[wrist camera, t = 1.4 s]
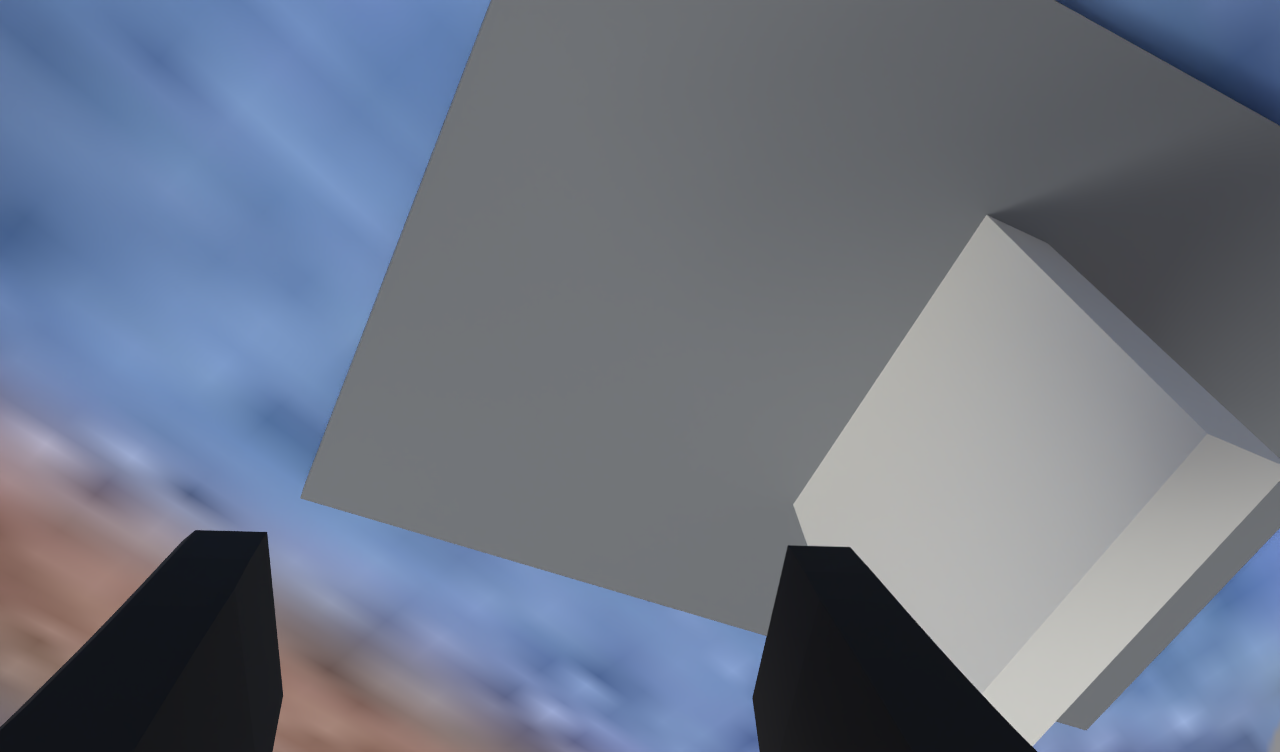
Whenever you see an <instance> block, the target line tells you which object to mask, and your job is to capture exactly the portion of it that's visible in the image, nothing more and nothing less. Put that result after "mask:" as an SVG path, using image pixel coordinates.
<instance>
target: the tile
mask: <svg viewBox="0 0 1280 752" xmlns="http://www.w3.org/2000/svg"><path fill="white" fill-rule="evenodd" d="M1279 481H1280V459H1279V458H1278V457H1277V456H1276V455H1275V454H1274V453H1273V452H1272V451H1271V450H1270V449H1269V448H1268V447H1267V446H1265V445H1264V444H1263V443H1262V442H1261V441H1260V440H1259V439H1258V438H1257V437H1256V436H1255V435H1254V434H1253V433H1251V432H1250V431H1249V430H1248V429H1247V428H1246V427H1245V426H1244V425H1243V424H1242V423H1241V422H1240V421H1239V420H1237V419H1236V418H1235V417H1234V416H1233V415H1232V414H1231V413H1230V412H1229V411H1228V410H1227V409H1226V408H1225V407H1223V406H1222V405H1221V404H1220V403H1219V402H1218V401H1217V400H1216V399H1215V398H1214V397H1213V396H1212V395H1211V394H1209V393H1208V392H1207V391H1206V390H1205V389H1204V388H1203V387H1202V386H1201V385H1200V384H1199V383H1198V382H1197V381H1195V380H1194V379H1193V378H1192V377H1191V376H1190V375H1189V374H1188V373H1187V372H1186V371H1185V370H1184V369H1183V368H1181V367H1180V366H1179V365H1178V364H1177V363H1176V362H1175V361H1174V360H1173V359H1172V358H1171V357H1170V356H1169V355H1167V354H1166V353H1165V352H1164V351H1163V350H1162V349H1161V348H1160V347H1159V346H1158V345H1157V344H1156V343H1155V342H1153V341H1152V340H1151V339H1150V338H1149V337H1148V336H1147V335H1146V334H1145V333H1144V332H1143V331H1142V330H1141V329H1139V328H1138V327H1137V326H1136V325H1135V324H1134V323H1133V322H1132V321H1131V320H1130V319H1129V318H1128V317H1127V316H1125V315H1124V314H1123V313H1122V312H1121V311H1120V310H1119V309H1118V308H1117V307H1116V306H1115V305H1114V304H1113V303H1111V302H1110V301H1109V300H1108V299H1107V298H1106V297H1105V296H1104V295H1103V294H1102V293H1101V292H1100V291H1099V290H1097V289H1096V288H1095V287H1094V286H1093V285H1092V284H1091V283H1090V282H1089V281H1088V280H1087V279H1086V278H1085V277H1083V276H1082V275H1081V274H1080V273H1079V272H1078V271H1077V270H1076V269H1075V268H1074V267H1073V266H1072V265H1071V264H1069V263H1068V262H1067V261H1066V260H1065V259H1064V258H1063V257H1062V256H1061V255H1060V254H1059V253H1058V252H1057V251H1055V250H1054V249H1053V248H1052V247H1051V246H1050V245H1049V244H1048V243H1046V242H1044V241H1042V240H1040V239H1037V238H1035V237H1033V236H1031V235H1029V234H1027V233H1025V232H1022V231H1020V230H1018V229H1016V228H1014V227H1012V226H1010V225H1007V224H1005V223H1003V222H1001V221H999V220H997V219H995V218H992V217H990V216H988V215H986V216H985V218H984V219H983V221H982V222H981V224H980V225H979V227H978V228H977V230H976V231H975V233H974V234H973V236H972V237H971V239H970V240H969V242H968V243H967V245H966V246H965V248H964V249H963V251H962V252H961V254H960V255H959V257H958V258H957V260H956V261H955V263H954V264H953V266H952V267H951V269H950V270H949V272H948V273H947V275H946V276H945V278H944V279H943V281H942V282H941V284H940V285H939V287H938V288H937V290H936V291H935V293H934V294H933V296H932V297H931V299H930V300H929V302H928V303H927V305H926V306H925V308H924V309H923V311H922V312H921V314H920V315H919V317H918V318H917V320H916V321H915V323H914V324H913V326H912V327H911V329H910V330H909V332H908V333H907V335H906V336H905V338H904V339H903V341H902V342H901V344H900V345H899V347H898V348H897V350H896V351H895V353H894V354H893V356H892V357H891V359H890V360H889V362H888V363H887V365H886V366H885V368H884V369H883V371H882V372H881V374H880V375H879V377H878V378H877V380H876V381H875V383H874V384H873V386H872V387H871V389H870V390H869V392H868V393H867V395H866V396H865V398H864V399H863V401H862V402H861V404H860V405H859V407H858V408H857V410H856V411H855V413H854V414H853V416H852V417H851V419H850V420H849V422H848V423H847V425H846V426H845V428H844V429H843V431H842V432H841V434H840V435H839V437H838V438H837V440H836V441H835V443H834V444H833V446H832V447H831V449H830V450H829V452H828V453H827V455H826V456H825V458H824V459H823V461H822V462H821V464H820V465H819V467H818V468H817V470H816V471H815V473H814V474H813V476H812V477H811V479H810V480H809V482H808V483H807V485H806V486H805V488H804V489H803V491H802V492H801V494H800V495H799V497H798V498H797V500H796V501H795V503H794V504H793V506H794V508H795V511H796V514H797V517H798V520H799V523H800V526H801V528H802V531H803V534H804V537H805V540H806V543H807V545H808V546H834V547H851V548H852V550H853V551H854V552H855V553H856V554H857V555H858V556H859V557H860V558H861V560H862V561H863V562H864V563H865V564H866V565H867V566H868V567H869V569H870V570H871V571H872V572H873V573H874V574H875V575H876V576H877V578H878V579H879V580H880V581H881V582H882V583H883V584H884V586H885V587H886V588H887V589H888V590H889V591H890V592H891V594H892V595H893V596H894V597H895V598H896V599H897V601H898V602H899V603H900V604H901V605H902V606H903V607H904V609H905V610H906V611H907V612H908V613H909V614H910V615H911V617H912V618H913V619H914V620H915V621H916V622H917V623H918V624H919V626H920V627H921V628H922V629H923V630H924V631H925V632H926V633H927V635H928V636H929V637H930V638H931V639H932V640H933V641H934V642H935V644H936V645H937V646H938V647H939V648H940V649H941V650H942V651H943V652H944V654H945V655H946V656H947V657H948V658H949V659H950V660H951V661H952V662H953V663H954V665H955V666H956V667H957V668H958V669H959V670H960V671H961V672H962V673H963V674H964V676H965V677H966V678H967V679H968V680H969V681H970V682H971V683H972V684H973V685H974V686H975V687H976V688H977V690H978V691H979V692H980V693H981V694H982V695H983V696H984V697H985V698H986V699H987V700H988V701H989V702H990V703H991V704H992V706H993V707H994V708H995V709H996V710H997V711H998V712H999V713H1000V714H1001V715H1002V716H1003V717H1004V718H1005V719H1006V720H1007V721H1008V722H1009V723H1010V724H1011V725H1012V727H1013V728H1014V729H1015V730H1016V731H1017V732H1018V733H1019V734H1020V735H1021V736H1022V737H1023V738H1024V739H1025V740H1026V741H1027V742H1028V743H1029V744H1030V745H1031V746H1033V745H1034V744H1035V743H1036V742H1037V741H1038V740H1039V739H1040V738H1041V737H1042V736H1043V735H1044V733H1045V732H1046V731H1047V730H1048V729H1049V728H1050V727H1051V726H1052V725H1053V724H1054V723H1055V722H1056V721H1057V719H1058V718H1059V717H1060V716H1061V715H1062V714H1063V713H1064V712H1065V711H1066V710H1067V709H1068V708H1069V707H1070V705H1071V704H1072V703H1073V702H1074V701H1075V700H1076V699H1077V698H1078V697H1079V696H1080V695H1081V694H1082V693H1083V692H1084V690H1085V689H1086V688H1087V687H1088V686H1089V685H1090V684H1091V683H1092V682H1093V681H1094V680H1095V679H1096V678H1097V676H1098V675H1099V674H1100V673H1101V672H1102V671H1103V670H1104V669H1105V668H1106V667H1107V666H1108V665H1109V664H1110V663H1111V661H1112V660H1113V659H1114V658H1115V657H1116V656H1117V655H1118V654H1119V653H1120V652H1121V651H1122V650H1123V649H1124V647H1125V646H1126V645H1127V644H1128V643H1129V642H1130V641H1131V640H1132V639H1133V638H1134V637H1135V636H1136V635H1137V634H1138V632H1139V631H1140V630H1141V629H1142V628H1143V627H1144V626H1145V625H1146V624H1147V623H1148V622H1149V621H1150V620H1151V618H1152V617H1153V616H1154V615H1155V614H1156V613H1157V612H1158V611H1159V610H1160V609H1161V608H1162V607H1163V606H1164V605H1165V603H1166V602H1167V601H1168V600H1169V599H1170V598H1171V597H1172V596H1173V595H1174V594H1175V593H1176V592H1177V591H1178V589H1179V588H1180V587H1181V586H1182V585H1183V584H1184V583H1185V582H1186V581H1187V580H1188V579H1189V578H1190V577H1191V576H1192V574H1193V573H1194V572H1195V571H1196V570H1197V569H1198V568H1199V567H1200V566H1201V565H1202V564H1203V563H1204V562H1205V560H1206V559H1207V558H1208V557H1209V556H1210V555H1211V554H1212V553H1213V552H1214V551H1215V550H1216V549H1217V548H1218V547H1219V545H1220V544H1221V543H1222V542H1223V541H1224V540H1225V539H1226V538H1227V537H1228V536H1229V535H1230V534H1231V533H1232V531H1233V530H1234V529H1235V528H1236V527H1237V526H1238V525H1239V524H1240V523H1241V522H1242V521H1243V520H1244V519H1245V517H1246V516H1247V515H1248V514H1249V513H1250V512H1251V511H1252V510H1253V509H1254V508H1255V507H1256V506H1257V505H1258V504H1259V502H1260V501H1261V500H1262V499H1263V498H1264V497H1265V496H1266V495H1267V494H1268V493H1269V492H1270V491H1271V490H1272V488H1273V487H1274V486H1275V485H1276V484H1277V483H1278V482H1279Z"/></svg>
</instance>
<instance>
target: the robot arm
mask: <svg viewBox="0 0 1280 752" xmlns="http://www.w3.org/2000/svg"><path fill="white" fill-rule="evenodd" d="M282 698H283V690H282V679H281V669H280V659H279V649H278V639H277V628H276V618H275V608H274V598H273V588H272V578H271V567H270V557H269V547H268V537H267V532H243V531H204V530H195V531H194V532H193V533H191V534H190V535H189V536H188V537H187V538H185V539H184V540H183V541H182V542H181V543H180V544H179V545H178V546H177V547H176V548H175V549H174V551H173V552H172V553H171V554H170V555H169V556H168V557H167V558H166V559H165V560H164V561H163V562H162V563H161V564H160V565H159V567H158V568H157V569H156V570H155V571H154V572H153V573H152V574H151V575H150V576H149V577H148V578H147V579H146V580H145V582H144V583H143V584H142V585H141V586H140V587H139V588H138V589H137V590H136V591H135V592H134V593H133V594H132V595H131V596H130V597H129V599H128V600H127V601H126V602H125V603H124V604H123V605H122V606H121V607H120V608H119V609H118V610H117V611H116V612H115V613H114V614H113V615H112V616H111V617H110V618H109V619H108V620H107V621H106V623H105V624H104V625H103V626H102V627H101V628H100V629H99V630H98V631H97V632H96V633H95V634H94V635H93V636H92V637H91V638H90V639H89V640H88V641H87V642H86V643H85V644H84V645H83V646H82V647H81V648H80V649H79V650H78V651H77V652H76V653H75V654H74V655H73V656H72V657H71V658H70V659H69V660H68V661H67V662H66V663H65V664H64V665H63V666H62V667H61V668H60V669H59V670H58V671H57V672H56V673H55V674H54V675H53V676H52V677H51V678H50V679H49V680H48V681H47V682H46V683H45V684H44V685H43V686H42V687H41V688H40V689H39V690H38V691H37V692H36V693H35V694H34V695H33V696H32V697H31V698H30V699H29V700H28V701H27V702H26V703H25V704H24V705H23V706H22V707H21V708H20V709H19V710H18V711H17V712H16V713H14V714H13V715H12V716H11V717H10V718H9V719H8V720H7V721H6V722H5V723H4V724H3V725H2V726H1V727H0V752H272V751H273V746H274V740H275V735H276V730H277V725H278V719H279V714H280V709H281V704H282ZM753 705H754V712H755V720H756V727H757V735H758V742H759V749H760V752H1037V751H1036V750H1035V749H1034V748H1033V747H1032V746H1031V745H1030V744H1029V743H1028V742H1027V741H1026V740H1025V739H1024V738H1023V737H1022V736H1021V735H1020V734H1019V733H1018V732H1017V731H1016V730H1015V729H1014V728H1013V727H1012V725H1011V724H1010V723H1009V722H1008V721H1007V720H1006V719H1005V718H1004V717H1003V716H1002V715H1001V714H1000V713H999V712H998V711H997V710H996V709H995V708H994V707H993V706H992V704H991V703H990V702H989V701H988V700H987V699H986V698H985V697H984V696H983V695H982V694H981V693H980V692H979V691H978V690H977V688H976V687H975V686H974V685H973V684H972V683H971V682H970V681H969V680H968V679H967V678H966V677H965V676H964V674H963V673H962V672H961V671H960V670H959V669H958V668H957V667H956V666H955V665H954V663H953V662H952V661H951V660H950V659H949V658H948V657H947V656H946V655H945V654H944V652H943V651H942V650H941V649H940V648H939V647H938V646H937V645H936V644H935V642H934V641H933V640H932V639H931V638H930V637H929V636H928V635H927V633H926V632H925V631H924V630H923V629H922V628H921V627H920V626H919V624H918V623H917V622H916V621H915V620H914V619H913V618H912V617H911V615H910V614H909V613H908V612H907V611H906V610H905V609H904V607H903V606H902V605H901V604H900V603H899V602H898V601H897V599H896V598H895V597H894V596H893V595H892V594H891V592H890V591H889V590H888V589H887V588H886V587H885V586H884V584H883V583H882V582H881V581H880V580H879V579H878V578H877V576H876V575H875V574H874V573H873V572H872V571H871V570H870V569H869V567H868V566H867V565H866V564H865V563H864V562H863V561H862V560H861V558H860V557H859V556H858V555H857V554H856V553H855V552H854V551H853V550H852V548H851V547H834V546H795V545H788V546H787V551H786V555H785V559H784V564H783V568H782V572H781V577H780V581H779V585H778V590H777V594H776V598H775V603H774V607H773V611H772V616H771V620H770V624H769V629H768V633H767V637H766V642H765V646H764V650H763V655H762V659H761V663H760V668H759V672H758V676H757V681H756V685H755V689H754V694H753Z"/></svg>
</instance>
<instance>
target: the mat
mask: <svg viewBox="0 0 1280 752" xmlns="http://www.w3.org/2000/svg"><path fill="white" fill-rule="evenodd" d="M986 215H988V216H990V217H992V218H995V219H997V220H999V221H1001V222H1003V223H1005V224H1007V225H1010V226H1012V227H1014V228H1016V229H1018V230H1020V231H1022V232H1025V233H1027V234H1029V235H1031V236H1033V237H1035V238H1037V239H1040V240H1042V241H1044V242H1046V243H1048V244H1049V245H1050V246H1051V247H1052V248H1053V249H1054V250H1055V251H1057V252H1058V253H1059V254H1060V255H1061V256H1062V257H1063V258H1064V259H1065V260H1066V261H1067V262H1068V263H1069V264H1071V265H1072V266H1073V267H1074V268H1075V269H1076V270H1077V271H1078V272H1079V273H1080V274H1081V275H1082V276H1083V277H1085V278H1086V279H1087V280H1088V281H1089V282H1090V283H1091V284H1092V285H1093V286H1094V287H1095V288H1096V289H1097V290H1099V291H1100V292H1101V293H1102V294H1103V295H1104V296H1105V297H1106V298H1107V299H1108V300H1109V301H1110V302H1111V303H1113V304H1114V305H1115V306H1116V307H1117V308H1118V309H1119V310H1120V311H1121V312H1122V313H1123V314H1124V315H1125V316H1127V317H1128V318H1129V319H1130V320H1131V321H1132V322H1133V323H1134V324H1135V325H1136V326H1137V327H1138V328H1139V329H1141V330H1142V331H1143V332H1144V333H1145V334H1146V335H1147V336H1148V337H1149V338H1150V339H1151V340H1152V341H1153V342H1155V343H1156V344H1157V345H1158V346H1159V347H1160V348H1161V349H1162V350H1163V351H1164V352H1165V353H1166V354H1167V355H1169V356H1170V357H1171V358H1172V359H1173V360H1174V361H1175V362H1176V363H1177V364H1178V365H1179V366H1180V367H1181V368H1183V369H1184V370H1185V371H1186V372H1187V373H1188V374H1189V375H1190V376H1191V377H1192V378H1193V379H1194V380H1195V381H1197V382H1198V383H1199V384H1200V385H1201V386H1202V387H1203V388H1204V389H1205V390H1206V391H1207V392H1208V393H1209V394H1211V395H1212V396H1213V397H1214V398H1215V399H1216V400H1217V401H1218V402H1219V403H1220V404H1221V405H1222V406H1223V407H1225V408H1226V409H1227V410H1228V411H1229V412H1230V413H1231V414H1232V415H1233V416H1234V417H1235V418H1236V419H1237V420H1239V421H1240V422H1241V423H1242V424H1243V425H1244V426H1245V427H1246V428H1247V429H1248V430H1249V431H1250V432H1251V433H1253V434H1254V435H1255V436H1256V437H1257V438H1258V439H1259V440H1260V441H1261V442H1262V443H1263V444H1264V445H1265V446H1267V447H1268V448H1269V449H1270V450H1271V451H1272V452H1273V453H1274V454H1275V455H1276V456H1277V457H1278V458H1279V459H1280V126H1279V125H1278V124H1276V123H1274V122H1272V121H1270V120H1269V119H1267V118H1265V117H1263V116H1261V115H1260V114H1258V113H1256V112H1254V111H1252V110H1251V109H1249V108H1247V107H1245V106H1243V105H1242V104H1240V103H1238V102H1236V101H1234V100H1233V99H1231V98H1229V97H1227V96H1226V95H1224V94H1222V93H1220V92H1218V91H1217V90H1215V89H1213V88H1211V87H1209V86H1208V85H1206V84H1204V83H1202V82H1200V81H1199V80H1197V79H1195V78H1193V77H1191V76H1190V75H1188V74H1186V73H1184V72H1182V71H1181V70H1179V69H1177V68H1175V67H1174V66H1172V65H1170V64H1168V63H1166V62H1165V61H1163V60H1161V59H1159V58H1157V57H1156V56H1154V55H1152V54H1150V53H1148V52H1147V51H1145V50H1143V49H1141V48H1139V47H1138V46H1136V45H1134V44H1132V43H1130V42H1129V41H1127V40H1125V39H1123V38H1121V37H1120V36H1118V35H1116V34H1114V33H1113V32H1111V31H1109V30H1107V29H1105V28H1104V27H1102V26H1100V25H1098V24H1096V23H1095V22H1093V21H1091V20H1089V19H1087V18H1086V17H1084V16H1082V15H1080V14H1078V13H1077V12H1075V11H1073V10H1071V9H1069V8H1068V7H1066V6H1064V5H1062V4H1060V3H1059V2H1057V1H1055V0H491V2H490V4H489V7H488V9H487V12H486V15H485V17H484V20H483V22H482V25H481V28H480V30H479V33H478V35H477V38H476V41H475V43H474V46H473V48H472V51H471V54H470V56H469V59H468V61H467V64H466V67H465V69H464V72H463V74H462V77H461V80H460V82H459V85H458V87H457V90H456V93H455V95H454V98H453V100H452V103H451V106H450V108H449V111H448V113H447V116H446V119H445V121H444V124H443V126H442V129H441V131H440V134H439V137H438V139H437V142H436V144H435V147H434V150H433V152H432V155H431V157H430V160H429V163H428V165H427V168H426V170H425V173H424V176H423V178H422V181H421V183H420V186H419V189H418V191H417V194H416V196H415V199H414V202H413V204H412V207H411V209H410V212H409V215H408V217H407V220H406V222H405V225H404V228H403V230H402V233H401V235H400V238H399V241H398V243H397V246H396V248H395V251H394V254H393V256H392V259H391V261H390V264H389V267H388V269H387V272H386V274H385V277H384V280H383V282H382V285H381V287H380V290H379V293H378V295H377V298H376V300H375V303H374V306H373V308H372V311H371V313H370V316H369V319H368V321H367V324H366V326H365V329H364V332H363V334H362V337H361V339H360V342H359V345H358V347H357V350H356V352H355V355H354V358H353V360H352V363H351V365H350V368H349V371H348V373H347V376H346V378H345V381H344V384H343V386H342V389H341V391H340V394H339V397H338V399H337V402H336V404H335V407H334V410H333V412H332V415H331V417H330V420H329V423H328V425H327V428H326V430H325V433H324V436H323V438H322V441H321V443H320V446H319V449H318V451H317V454H316V456H315V459H314V462H313V464H312V467H311V469H310V472H309V475H308V477H307V480H306V482H305V485H304V488H303V492H302V495H301V499H305V500H308V501H312V502H315V503H318V504H322V505H325V506H328V507H332V508H335V509H339V510H342V511H345V512H349V513H352V514H356V515H359V516H362V517H366V518H369V519H372V520H376V521H379V522H383V523H386V524H389V525H393V526H396V527H400V528H403V529H406V530H410V531H413V532H416V533H420V534H423V535H427V536H430V537H433V538H437V539H440V540H444V541H447V542H450V543H454V544H457V545H460V546H464V547H467V548H471V549H474V550H477V551H481V552H484V553H488V554H491V555H494V556H498V557H501V558H505V559H508V560H511V561H515V562H518V563H521V564H525V565H528V566H532V567H535V568H538V569H542V570H545V571H549V572H552V573H555V574H559V575H562V576H565V577H569V578H572V579H576V580H579V581H582V582H586V583H589V584H593V585H596V586H599V587H603V588H606V589H609V590H613V591H616V592H620V593H623V594H626V595H630V596H633V597H637V598H640V599H643V600H647V601H650V602H653V603H657V604H660V605H664V606H667V607H670V608H674V609H677V610H681V611H684V612H687V613H691V614H694V615H697V616H701V617H704V618H708V619H711V620H714V621H718V622H721V623H725V624H728V625H731V626H735V627H738V628H741V629H745V630H748V631H752V632H755V633H758V634H762V635H765V636H767V633H768V629H769V624H770V620H771V616H772V611H773V607H774V603H775V598H776V594H777V590H778V585H779V581H780V577H781V572H782V568H783V564H784V559H785V555H786V551H787V546H788V545H795V546H808V545H807V543H806V540H805V537H804V534H803V531H802V528H801V526H800V523H799V520H798V517H797V514H796V511H795V508H794V506H793V504H794V503H795V501H796V500H797V498H798V497H799V495H800V494H801V492H802V491H803V489H804V488H805V486H806V485H807V483H808V482H809V480H810V479H811V477H812V476H813V474H814V473H815V471H816V470H817V468H818V467H819V465H820V464H821V462H822V461H823V459H824V458H825V456H826V455H827V453H828V452H829V450H830V449H831V447H832V446H833V444H834V443H835V441H836V440H837V438H838V437H839V435H840V434H841V432H842V431H843V429H844V428H845V426H846V425H847V423H848V422H849V420H850V419H851V417H852V416H853V414H854V413H855V411H856V410H857V408H858V407H859V405H860V404H861V402H862V401H863V399H864V398H865V396H866V395H867V393H868V392H869V390H870V389H871V387H872V386H873V384H874V383H875V381H876V380H877V378H878V377H879V375H880V374H881V372H882V371H883V369H884V368H885V366H886V365H887V363H888V362H889V360H890V359H891V357H892V356H893V354H894V353H895V351H896V350H897V348H898V347H899V345H900V344H901V342H902V341H903V339H904V338H905V336H906V335H907V333H908V332H909V330H910V329H911V327H912V326H913V324H914V323H915V321H916V320H917V318H918V317H919V315H920V314H921V312H922V311H923V309H924V308H925V306H926V305H927V303H928V302H929V300H930V299H931V297H932V296H933V294H934V293H935V291H936V290H937V288H938V287H939V285H940V284H941V282H942V281H943V279H944V278H945V276H946V275H947V273H948V272H949V270H950V269H951V267H952V266H953V264H954V263H955V261H956V260H957V258H958V257H959V255H960V254H961V252H962V251H963V249H964V248H965V246H966V245H967V243H968V242H969V240H970V239H971V237H972V236H973V234H974V233H975V231H976V230H977V228H978V227H979V225H980V224H981V222H982V221H983V219H984V218H985V216H986ZM1279 528H1280V481H1279V482H1278V483H1277V484H1276V485H1275V486H1274V487H1273V488H1272V490H1271V491H1270V492H1269V493H1268V494H1267V495H1266V496H1265V497H1264V498H1263V499H1262V500H1261V501H1260V502H1259V504H1258V505H1257V506H1256V507H1255V508H1254V509H1253V510H1252V511H1251V512H1250V513H1249V514H1248V515H1247V516H1246V517H1245V519H1244V520H1243V521H1242V522H1241V523H1240V524H1239V525H1238V526H1237V527H1236V528H1235V529H1234V530H1233V531H1232V533H1231V534H1230V535H1229V536H1228V537H1227V538H1226V539H1225V540H1224V541H1223V542H1222V543H1221V544H1220V545H1219V547H1218V548H1217V549H1216V550H1215V551H1214V552H1213V553H1212V554H1211V555H1210V556H1209V557H1208V558H1207V559H1206V560H1205V562H1204V563H1203V564H1202V565H1201V566H1200V567H1199V568H1198V569H1197V570H1196V571H1195V572H1194V573H1193V574H1192V576H1191V577H1190V578H1189V579H1188V580H1187V581H1186V582H1185V583H1184V584H1183V585H1182V586H1181V587H1180V588H1179V589H1178V591H1177V592H1176V593H1175V594H1174V595H1173V596H1172V597H1171V598H1170V599H1169V600H1168V601H1167V602H1166V603H1165V605H1164V606H1163V607H1162V608H1161V609H1160V610H1159V611H1158V612H1157V613H1156V614H1155V615H1154V616H1153V617H1152V618H1151V620H1150V621H1149V622H1148V623H1147V624H1146V625H1145V626H1144V627H1143V628H1142V629H1141V630H1140V631H1139V632H1138V634H1137V635H1136V636H1135V637H1134V638H1133V639H1132V640H1131V641H1130V642H1129V643H1128V644H1127V645H1126V646H1125V647H1124V649H1123V650H1122V651H1121V652H1120V653H1119V654H1118V655H1117V656H1116V657H1115V658H1114V659H1113V660H1112V661H1111V663H1110V664H1109V665H1108V666H1107V667H1106V668H1105V669H1104V670H1103V671H1102V672H1101V673H1100V674H1099V675H1098V676H1097V678H1096V679H1095V680H1094V681H1093V682H1092V683H1091V684H1090V685H1089V686H1088V687H1087V688H1086V689H1085V690H1084V692H1083V693H1082V694H1081V695H1080V696H1079V697H1078V698H1077V699H1076V700H1075V701H1074V702H1073V703H1072V704H1071V705H1070V707H1069V708H1068V709H1067V710H1066V711H1065V712H1064V713H1063V714H1062V715H1061V716H1060V717H1059V718H1058V719H1057V721H1056V722H1060V723H1063V724H1066V725H1070V726H1073V727H1077V728H1080V729H1083V730H1087V729H1088V728H1089V727H1090V726H1091V725H1092V724H1093V723H1094V722H1095V721H1096V720H1097V719H1098V718H1099V717H1100V715H1101V714H1102V713H1103V712H1104V711H1105V710H1106V709H1107V708H1108V707H1109V706H1110V705H1111V704H1112V703H1113V702H1114V701H1115V700H1116V699H1117V698H1118V697H1119V696H1120V695H1121V694H1122V692H1123V691H1124V690H1125V689H1126V688H1127V687H1128V686H1129V685H1130V684H1131V683H1132V682H1133V681H1134V680H1135V679H1136V678H1137V677H1138V676H1139V675H1140V674H1141V673H1142V672H1143V671H1144V669H1145V668H1146V667H1147V666H1148V665H1149V664H1150V663H1151V662H1152V661H1153V660H1154V659H1155V658H1156V657H1157V656H1158V655H1159V654H1160V653H1161V652H1162V651H1163V650H1164V649H1165V647H1166V646H1167V645H1168V644H1169V643H1170V642H1171V641H1172V640H1173V639H1174V638H1175V637H1176V636H1177V635H1178V634H1179V633H1180V632H1181V631H1182V630H1183V629H1184V628H1185V627H1186V626H1187V624H1188V623H1189V622H1190V621H1191V620H1192V619H1193V618H1194V617H1195V616H1196V615H1197V614H1198V613H1199V612H1200V611H1201V610H1202V609H1203V608H1204V607H1205V606H1206V605H1207V604H1208V603H1209V601H1210V600H1211V599H1212V598H1213V597H1214V596H1215V595H1216V594H1217V593H1218V592H1219V591H1220V590H1221V589H1222V588H1223V587H1224V586H1225V585H1226V584H1227V583H1228V582H1229V581H1230V580H1231V578H1232V577H1233V576H1234V575H1235V574H1236V573H1237V572H1238V571H1239V570H1240V569H1241V568H1242V567H1243V566H1244V565H1245V564H1246V563H1247V562H1248V561H1249V560H1250V559H1251V558H1252V557H1253V555H1254V554H1255V553H1256V552H1257V551H1258V550H1259V549H1260V548H1261V547H1262V546H1263V545H1264V544H1265V543H1266V542H1267V541H1268V540H1269V539H1270V538H1271V537H1272V536H1273V535H1274V534H1275V532H1276V531H1277V530H1278V529H1279Z"/></svg>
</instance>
